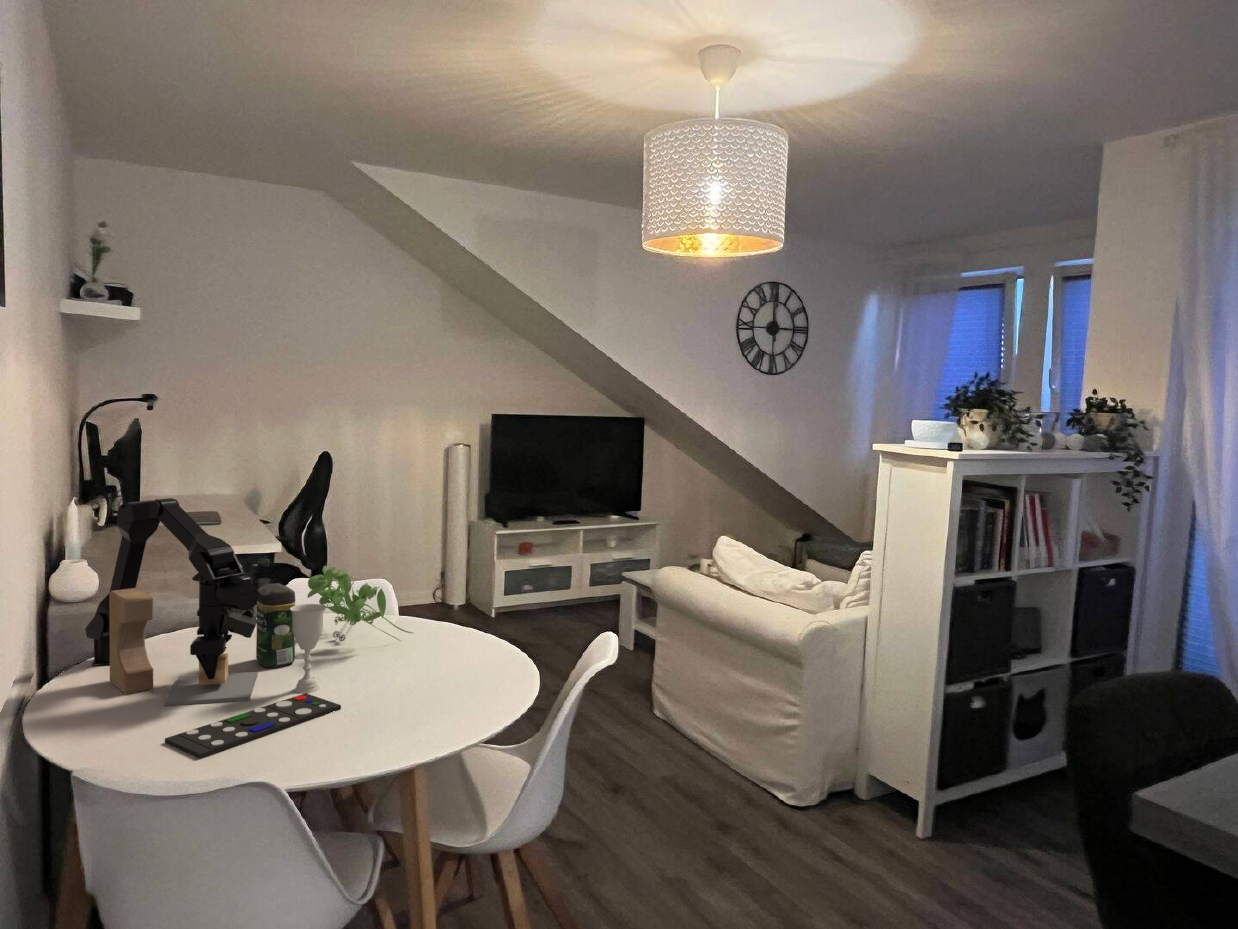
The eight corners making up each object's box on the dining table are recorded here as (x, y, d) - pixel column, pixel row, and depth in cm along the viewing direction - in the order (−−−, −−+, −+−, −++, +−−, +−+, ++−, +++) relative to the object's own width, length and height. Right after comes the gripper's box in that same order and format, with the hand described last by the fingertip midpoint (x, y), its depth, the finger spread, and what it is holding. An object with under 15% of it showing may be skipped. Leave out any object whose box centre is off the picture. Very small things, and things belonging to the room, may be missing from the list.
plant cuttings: (344, 645, 239) (280, 606, 226) (380, 593, 244) (319, 552, 232) (398, 681, 212) (329, 639, 199) (437, 622, 217) (372, 577, 205)
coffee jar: (251, 659, 203) (252, 583, 201) (285, 654, 207) (286, 579, 206) (263, 670, 195) (264, 591, 193) (298, 665, 200) (299, 587, 198)
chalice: (290, 696, 180) (292, 613, 178) (287, 686, 186) (288, 605, 184) (326, 692, 183) (328, 610, 182) (322, 682, 189) (323, 603, 188)
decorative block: (154, 689, 180) (154, 597, 179) (124, 695, 176) (123, 601, 175) (138, 676, 188) (138, 587, 186) (109, 681, 184) (108, 590, 182)
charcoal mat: (163, 705, 172) (163, 702, 172) (179, 679, 187) (179, 676, 187) (249, 700, 177) (249, 696, 177) (257, 675, 192) (257, 671, 192)
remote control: (340, 712, 174) (340, 702, 174) (200, 762, 149) (200, 751, 148) (305, 700, 180) (305, 690, 180) (164, 746, 154) (164, 735, 154)
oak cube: (198, 684, 178) (198, 661, 178) (202, 676, 183) (202, 654, 183) (224, 683, 180) (224, 660, 180) (227, 675, 185) (228, 653, 184)
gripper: (249, 613, 174) (249, 687, 175) (259, 591, 192) (258, 659, 193) (189, 615, 170) (189, 690, 172) (205, 593, 188) (204, 661, 189)
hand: (213, 674), depth 182 cm, fingers open, 5 cm apart
